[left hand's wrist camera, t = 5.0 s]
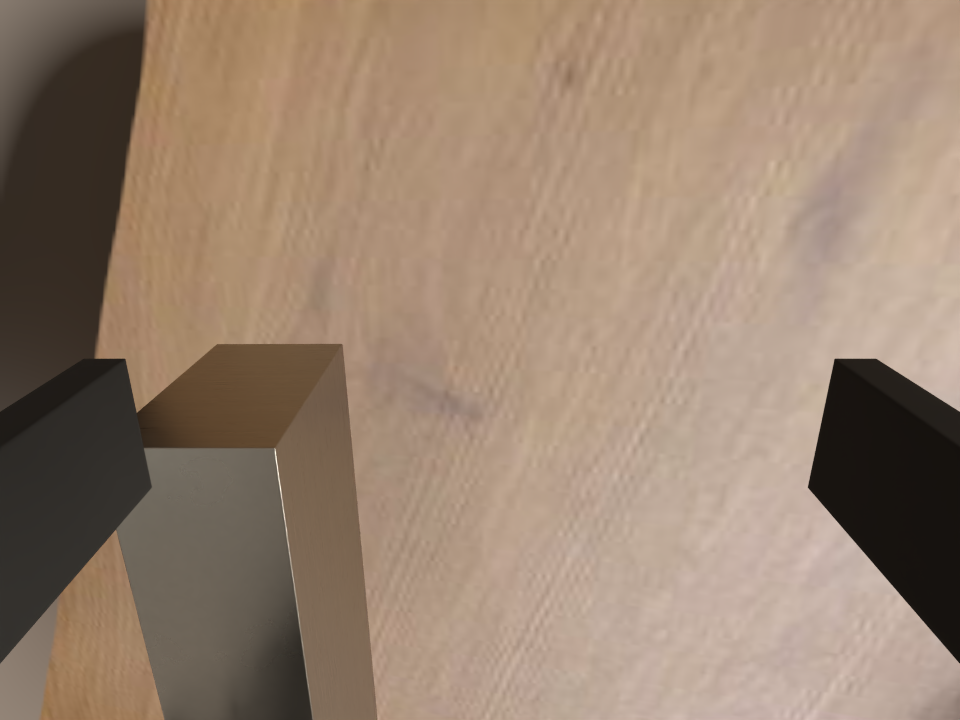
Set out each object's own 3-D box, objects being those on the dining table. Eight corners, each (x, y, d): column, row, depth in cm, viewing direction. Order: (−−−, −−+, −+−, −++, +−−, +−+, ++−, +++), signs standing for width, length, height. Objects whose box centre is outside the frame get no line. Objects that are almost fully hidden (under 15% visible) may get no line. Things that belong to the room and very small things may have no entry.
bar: (216, 343, 29) (94, 447, 20) (342, 343, 29) (274, 448, 20) (279, 720, 38) (212, 910, 29) (377, 721, 37) (340, 913, 29)
